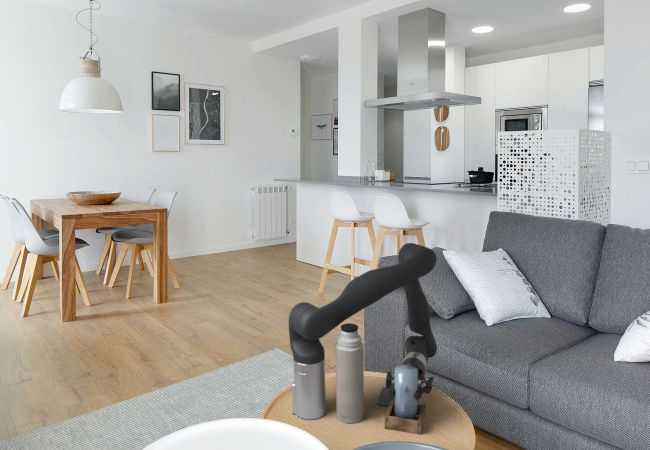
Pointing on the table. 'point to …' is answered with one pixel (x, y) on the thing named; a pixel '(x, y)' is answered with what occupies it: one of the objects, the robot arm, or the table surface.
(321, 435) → the table surface
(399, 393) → the jug
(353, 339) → the thermos bottle
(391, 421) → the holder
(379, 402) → the mat
